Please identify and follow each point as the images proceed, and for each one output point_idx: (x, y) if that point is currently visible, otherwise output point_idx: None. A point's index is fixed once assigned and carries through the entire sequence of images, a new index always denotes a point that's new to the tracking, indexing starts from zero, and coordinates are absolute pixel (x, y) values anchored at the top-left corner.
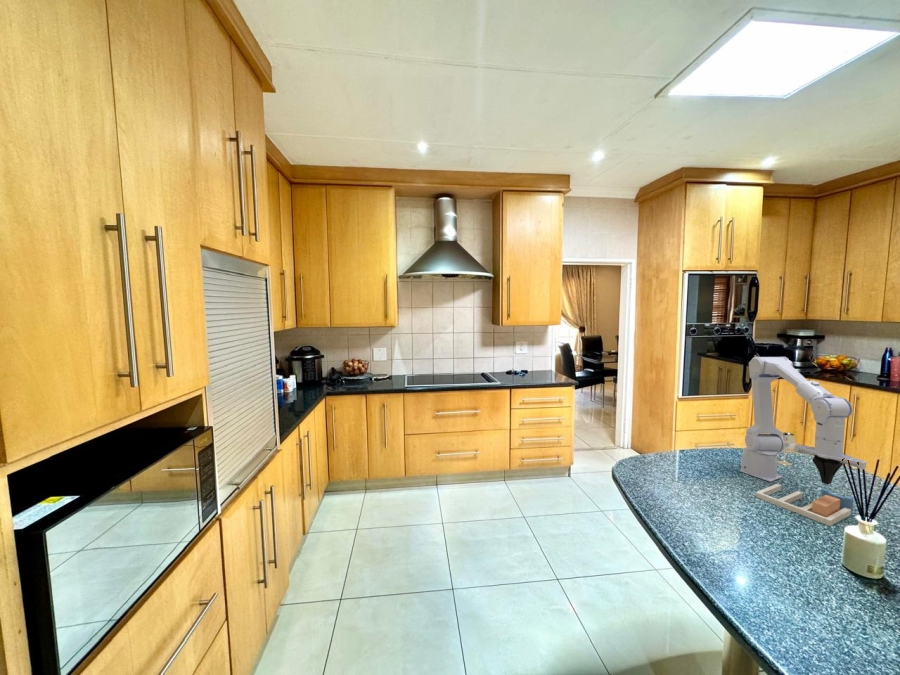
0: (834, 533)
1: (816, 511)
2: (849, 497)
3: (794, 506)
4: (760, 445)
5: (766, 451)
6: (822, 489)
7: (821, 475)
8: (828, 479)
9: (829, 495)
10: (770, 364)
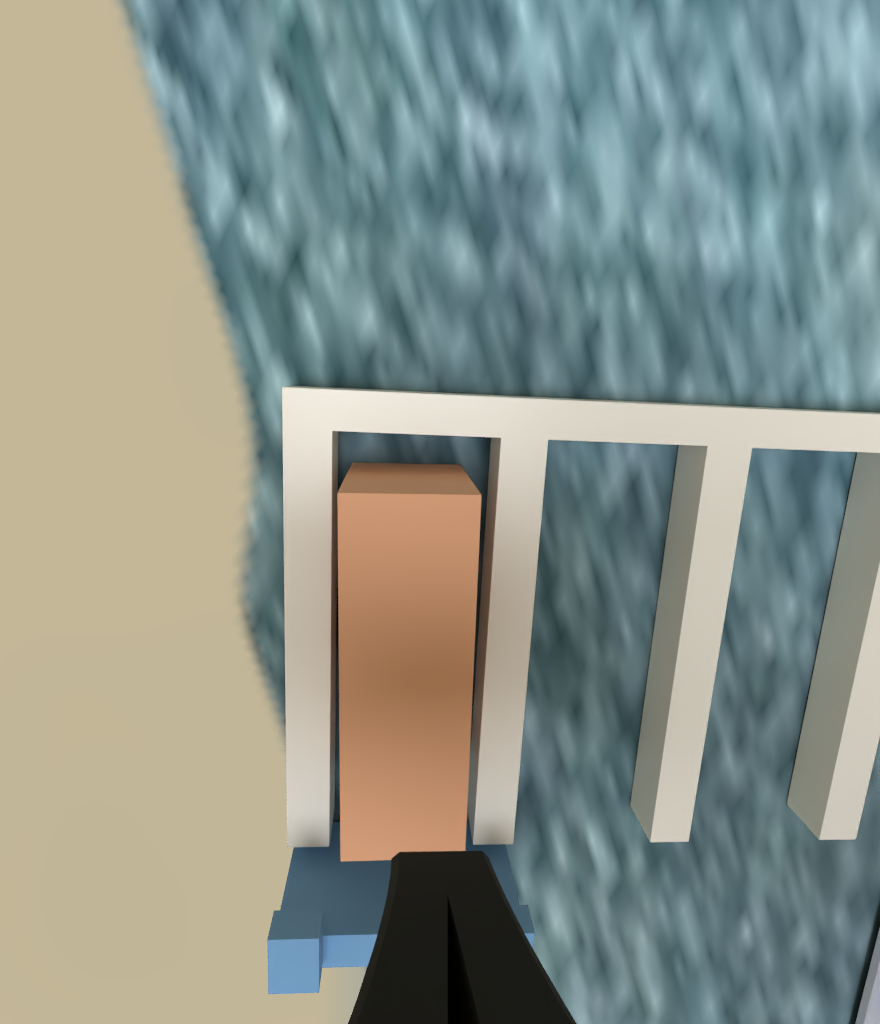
0: (213, 247)
1: (428, 475)
2: (290, 968)
3: (599, 412)
4: None
5: None
6: None
7: (521, 980)
8: (379, 937)
9: None
10: None
